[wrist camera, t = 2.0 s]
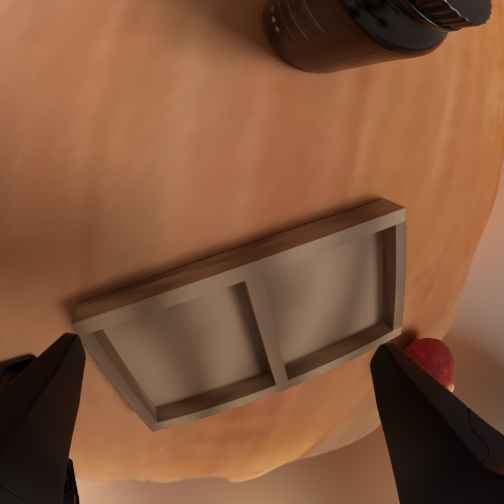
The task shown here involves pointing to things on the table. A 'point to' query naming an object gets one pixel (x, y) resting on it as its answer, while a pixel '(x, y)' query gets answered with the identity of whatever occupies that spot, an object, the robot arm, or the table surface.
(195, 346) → the holder
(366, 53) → the supplement bottle
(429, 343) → the onion
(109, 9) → the table surface
